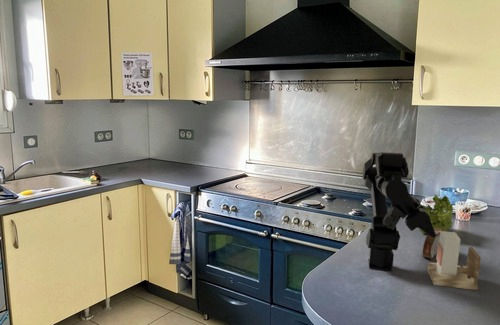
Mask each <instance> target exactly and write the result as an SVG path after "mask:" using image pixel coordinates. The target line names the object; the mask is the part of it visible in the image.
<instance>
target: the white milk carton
mask: <svg viewBox="0 0 500 325" xmlns="http://www.w3.org/2000/svg"><path fill="white" fill-rule="evenodd" d="M461 240H462V239H461V238H460V236H459V235H458V234H457V232H454V231H447V232H446V231H440V240H439V243H438V248H437V254H436V258H435V259H436V263H437V267H436V270H437V272H438V274H447V275H455V276H456V273H457V265H458V264H459V254H460V246H461ZM458 266H459V265H458Z"/></svg>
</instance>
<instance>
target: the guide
mask: <svg viewBox="0 0 500 325" xmlns="http://www.w3.org/2000/svg"><path fill="white" fill-rule="evenodd" d="M481 259H482V257H481V256H480V255H479V253H478V252H477V251H476V250H475V249H474V247H471V246H469V247H468V251H467V258H466V265H463V264H460V265H457V273H456V276H455V275H447V274H438V272H437V270H436V267H437V262H431V261H430V262H428V263H427V264H428V266H427V269H426V270H427V273H428V275H429V276H430V280H431V282H432V284H433V285H434V286H442V287H450V288H458V289H465V290H475V291H478V290H479V285H478V282H479V275H480V273H479V272H480V267H481Z"/></svg>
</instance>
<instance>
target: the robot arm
mask: <svg viewBox="0 0 500 325" xmlns="http://www.w3.org/2000/svg"><path fill="white" fill-rule="evenodd" d="M409 174H410V172H409V166H408V161H407V158H406V157H404V154H403V153H400V152H382V151H381V152H372V153H371V157H370V158H369V159H368V160H367V161H365V162H364V165H363V170H362V180H364V186H365V187H366V188H367V189H368V190H370V197H371V204H372V205H371V207H372V214H373V215H372V216H373V218H372V220H371V222H370V223H371V224H370V227H369V229H368V231H367V234H366V238H365V239H366V241H365V243H366V245H367V246H366V247H367V248H368V249H369V254H368V255H369V257H368V268H369V269H373V270H383V271H392V267H393V266H394V257H395V256H394V255H395V254H394V251H398V247H399V242H400V240H401V235H400V232H399V230H398V229H397V225H398V223H399V221H400V220H401V219H402V220H403V219H404V223H405V225H406V227H407V228H408V229H409V230H410V231H411V232H412V231H414V230H415V229H417V228H418V229H419V230H420V229H421V230H423V231H424V232H425V233H426V235H430V236H431V237H435V236H436V234H435V231H434V228H433V226H432V223H431V220H430V216H429V214H428V213H427V212H426V211H425V209H424V207H423V206H424V205H422V206H420V205H419V204H421V201H419V200H420V199H419V198H417V196H413V195H411V193H410V192H409V189H408V186H407V184H406V183H405V182H404V181H402V179H403V178H404V179H407V178H408V175H409ZM418 199H419V200H418ZM387 200H388V202H389V203H390V206H391V207H390V208H389V209H388V204H387ZM419 206H420V207H419ZM417 207H419V208H417ZM393 250H394V251H393Z"/></svg>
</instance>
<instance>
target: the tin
mask: <svg viewBox="0 0 500 325" xmlns="http://www.w3.org/2000/svg"><path fill="white" fill-rule="evenodd" d="M434 231H435V234H436V236H435V237H431V236H430V235H428V234H426V236H425V239H424V242H423V246H422V257H423V258H427V259H430V260H431V259H433V258H434V257H435V256H437V248H438V243H439V240H440V231H444V230H442V229H438V228H434Z"/></svg>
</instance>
